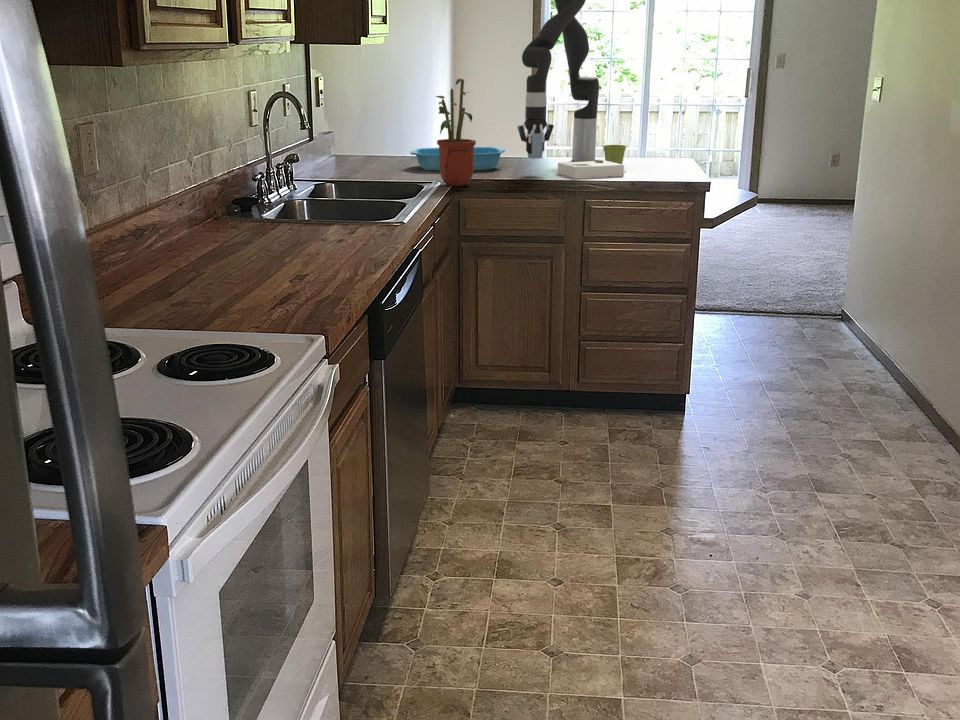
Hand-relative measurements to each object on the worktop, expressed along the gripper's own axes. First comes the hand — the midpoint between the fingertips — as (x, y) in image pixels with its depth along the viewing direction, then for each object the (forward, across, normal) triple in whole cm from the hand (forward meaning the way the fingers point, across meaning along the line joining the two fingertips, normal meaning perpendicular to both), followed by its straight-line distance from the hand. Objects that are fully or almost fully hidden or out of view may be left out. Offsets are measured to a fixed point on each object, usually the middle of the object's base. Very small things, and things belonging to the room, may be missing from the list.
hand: (535, 152), depth 355 cm
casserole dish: (+8, +20, -28) cm, 35 cm away
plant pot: (+8, -36, -5) cm, 37 cm away
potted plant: (+7, +39, +15) cm, 43 cm away
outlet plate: (+8, -19, +8) cm, 22 cm away
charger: (+2, 0, 0) cm, 2 cm away
